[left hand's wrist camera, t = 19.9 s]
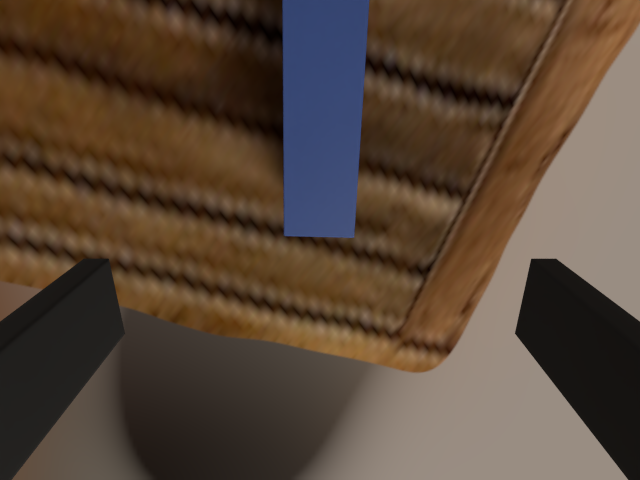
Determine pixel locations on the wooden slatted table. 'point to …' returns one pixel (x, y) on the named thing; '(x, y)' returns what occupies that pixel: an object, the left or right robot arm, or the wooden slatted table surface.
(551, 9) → the wooden slatted table surface
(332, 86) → the bar
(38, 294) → the left robot arm
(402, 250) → the wooden slatted table surface
